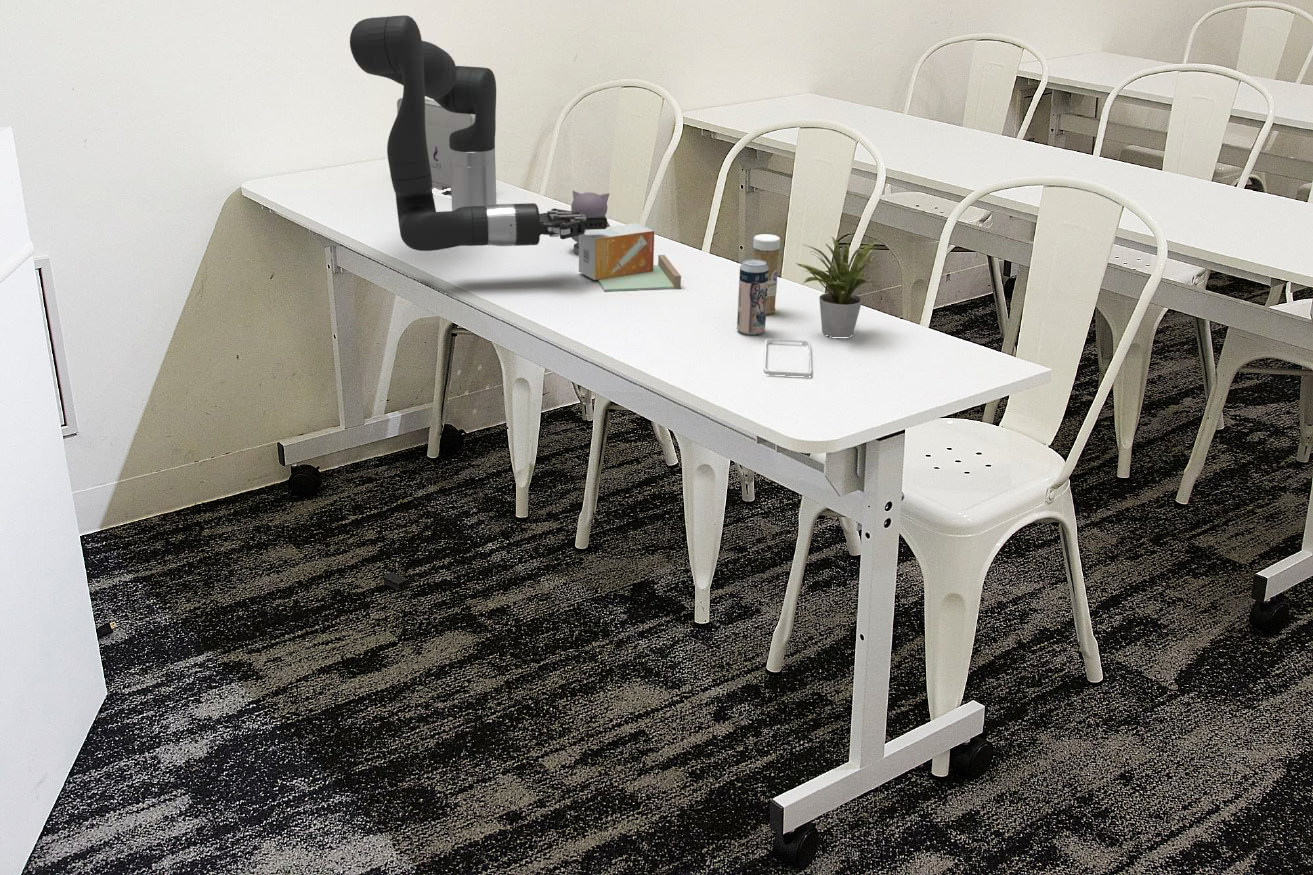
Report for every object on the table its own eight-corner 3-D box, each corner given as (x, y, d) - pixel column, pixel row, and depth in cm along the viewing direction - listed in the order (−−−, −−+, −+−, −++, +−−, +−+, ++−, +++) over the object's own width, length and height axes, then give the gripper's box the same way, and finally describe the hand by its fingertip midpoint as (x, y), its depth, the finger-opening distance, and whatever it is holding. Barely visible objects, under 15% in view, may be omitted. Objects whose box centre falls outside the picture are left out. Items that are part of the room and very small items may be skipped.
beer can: (756, 338, 218) (760, 268, 213) (731, 332, 220) (734, 263, 215) (770, 330, 221) (774, 261, 217) (745, 325, 224) (748, 256, 219)
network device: (393, 184, 311) (388, 98, 303) (422, 179, 317) (418, 94, 309) (467, 203, 296) (464, 113, 288) (495, 197, 302) (493, 108, 294)
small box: (594, 239, 240) (655, 229, 247) (577, 230, 245) (637, 222, 251) (594, 281, 243) (654, 271, 250) (578, 272, 248) (636, 262, 255)
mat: (591, 269, 251) (591, 257, 250) (664, 266, 254) (664, 254, 253) (604, 291, 239) (604, 278, 238) (680, 288, 242) (680, 275, 241)
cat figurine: (562, 255, 260) (561, 195, 255) (575, 245, 267) (575, 186, 262) (603, 259, 258) (603, 199, 253) (615, 249, 265) (616, 190, 260)
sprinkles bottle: (772, 317, 228) (777, 241, 223) (746, 313, 229) (751, 238, 224) (778, 309, 232) (783, 234, 227) (753, 306, 233) (757, 232, 228)
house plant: (833, 312, 231) (841, 221, 224) (898, 332, 222) (908, 238, 215) (780, 330, 222) (787, 235, 215) (845, 351, 213) (854, 253, 206)
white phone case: (811, 381, 202) (809, 348, 215) (811, 373, 201) (810, 340, 215) (763, 378, 202) (764, 345, 216) (763, 370, 202) (765, 338, 215)
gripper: (515, 213, 230) (613, 210, 234) (507, 195, 242) (600, 193, 245) (516, 255, 233) (612, 252, 237) (508, 235, 245) (600, 232, 248)
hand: (606, 222), depth 241 cm, fingers closed
